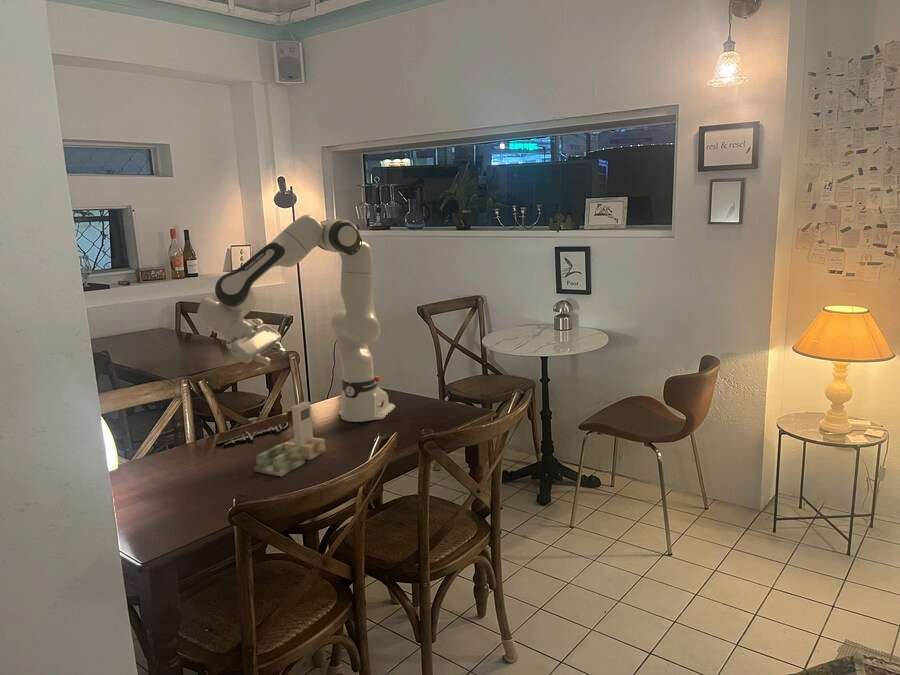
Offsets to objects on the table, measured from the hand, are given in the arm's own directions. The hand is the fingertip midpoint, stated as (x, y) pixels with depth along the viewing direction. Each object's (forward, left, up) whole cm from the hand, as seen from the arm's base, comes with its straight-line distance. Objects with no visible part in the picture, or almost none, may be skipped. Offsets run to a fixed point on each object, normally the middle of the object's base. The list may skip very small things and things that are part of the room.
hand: (277, 358), depth 216 cm
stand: (+4, +11, -29) cm, 31 cm away
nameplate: (-3, -15, -30) cm, 34 cm away
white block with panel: (+4, +11, -25) cm, 28 cm away
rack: (+16, +11, -29) cm, 35 cm away
